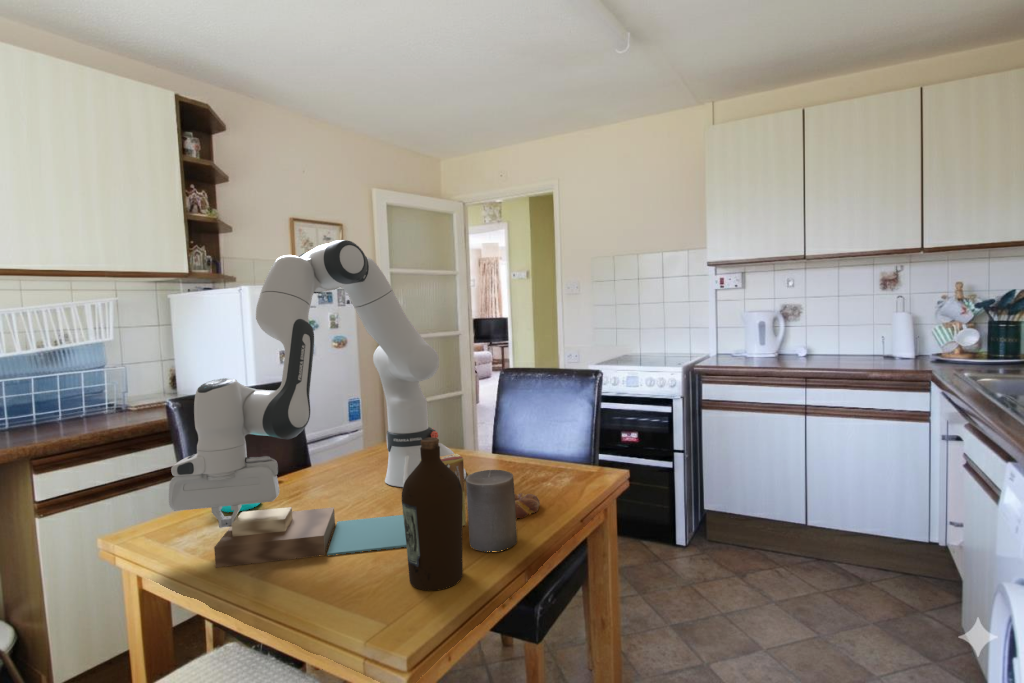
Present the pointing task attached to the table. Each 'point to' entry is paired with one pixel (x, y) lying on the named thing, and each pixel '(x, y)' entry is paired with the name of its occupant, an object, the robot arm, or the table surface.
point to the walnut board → (279, 540)
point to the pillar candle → (491, 510)
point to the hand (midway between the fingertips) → (228, 526)
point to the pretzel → (526, 504)
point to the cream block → (262, 521)
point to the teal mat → (368, 535)
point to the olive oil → (433, 521)
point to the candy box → (457, 467)
